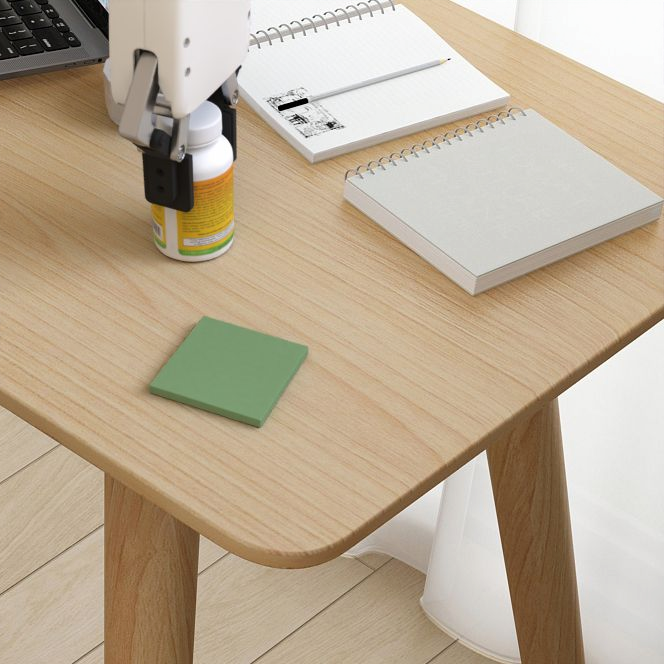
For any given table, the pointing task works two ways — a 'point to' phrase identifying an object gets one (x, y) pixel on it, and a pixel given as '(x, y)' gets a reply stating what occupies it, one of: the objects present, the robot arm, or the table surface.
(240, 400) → the green flat square slab
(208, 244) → the supplement bottle
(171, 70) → the robot arm
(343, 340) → the table surface
